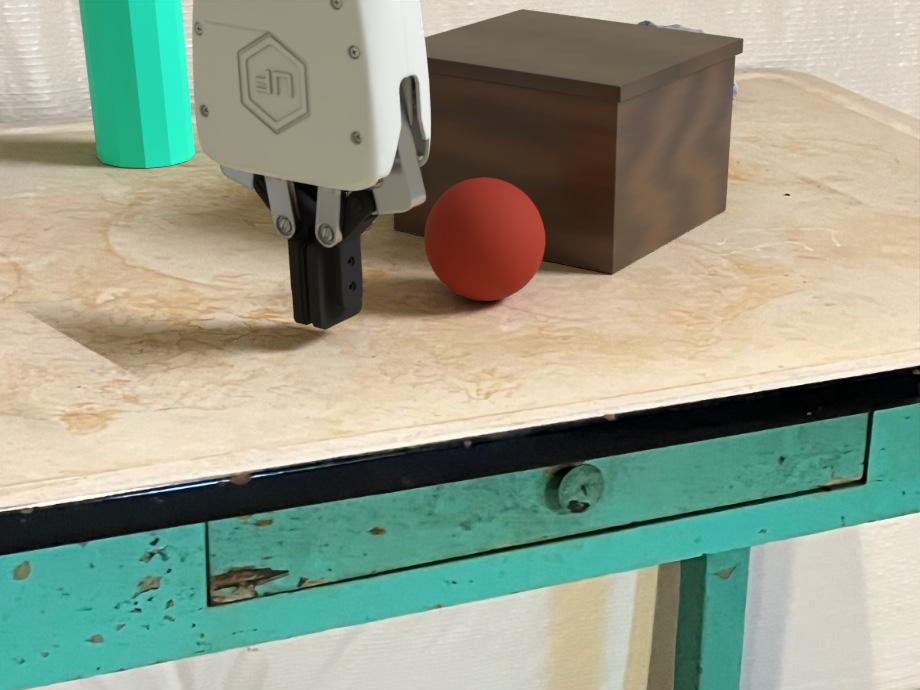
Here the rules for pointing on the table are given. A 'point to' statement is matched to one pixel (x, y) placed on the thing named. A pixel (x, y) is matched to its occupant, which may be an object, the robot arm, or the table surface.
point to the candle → (138, 81)
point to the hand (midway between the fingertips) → (328, 317)
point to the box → (584, 128)
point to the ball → (484, 239)
